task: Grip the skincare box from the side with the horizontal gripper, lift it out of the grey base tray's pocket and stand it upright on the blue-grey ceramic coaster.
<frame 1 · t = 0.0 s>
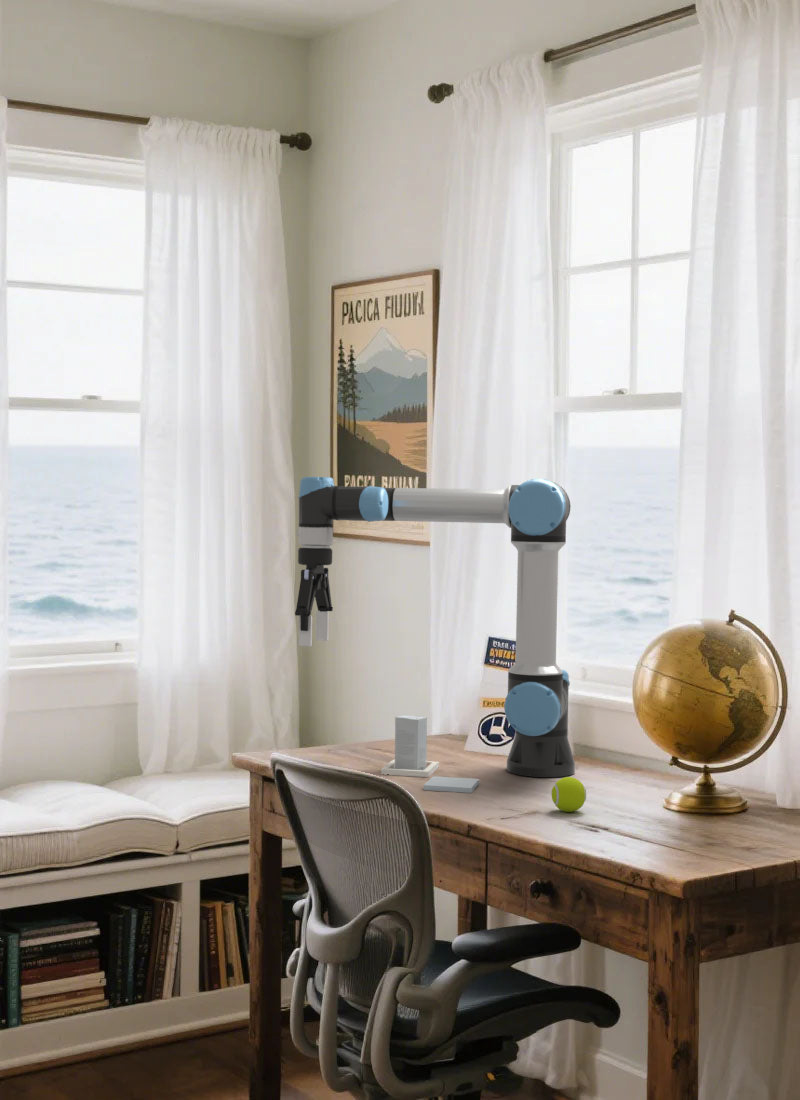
hand: (313, 643, 309), 28 cm above the table, tool pointing down, fingers open, 13 cm apart
skincare box: (410, 771, 310), resting in grey base tray
tennis ball: (568, 812, 271), on the table
coaster: (451, 786, 293), on the table
grey base tray: (410, 770, 310), on the table
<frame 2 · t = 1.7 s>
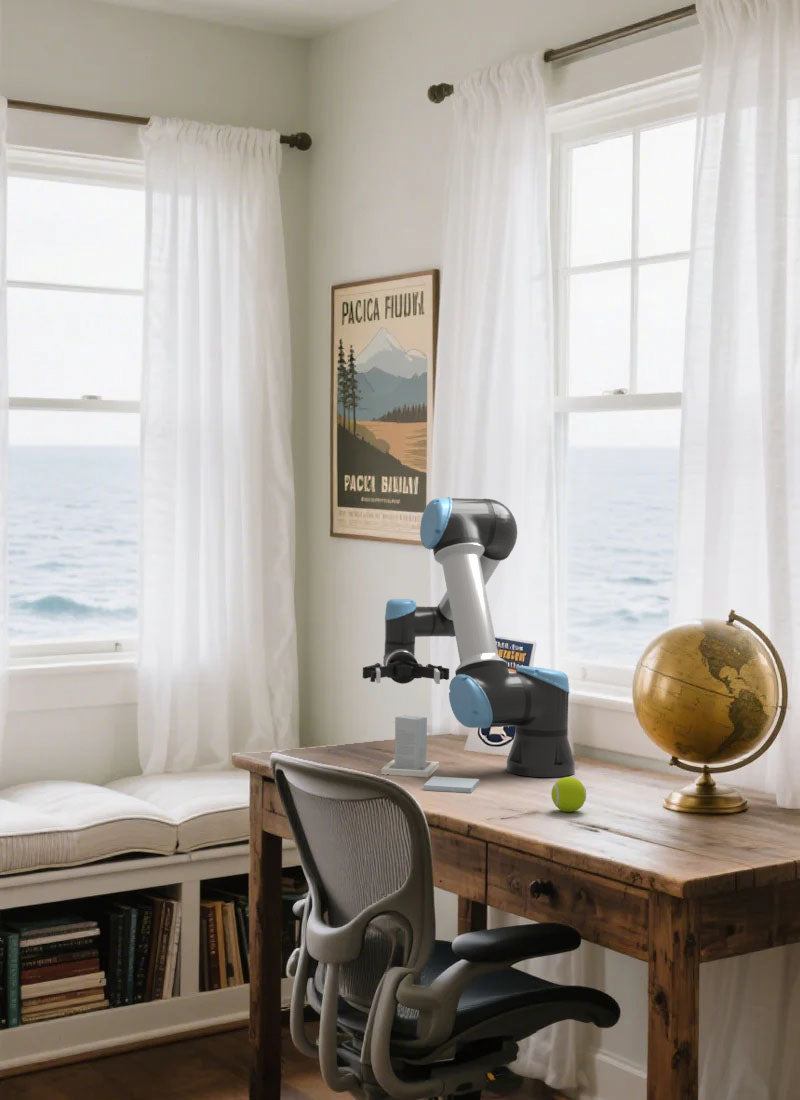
hand: (408, 677, 319), 20 cm above the table, tool horizontal, fingers open, 13 cm apart
nothing on the table moved.
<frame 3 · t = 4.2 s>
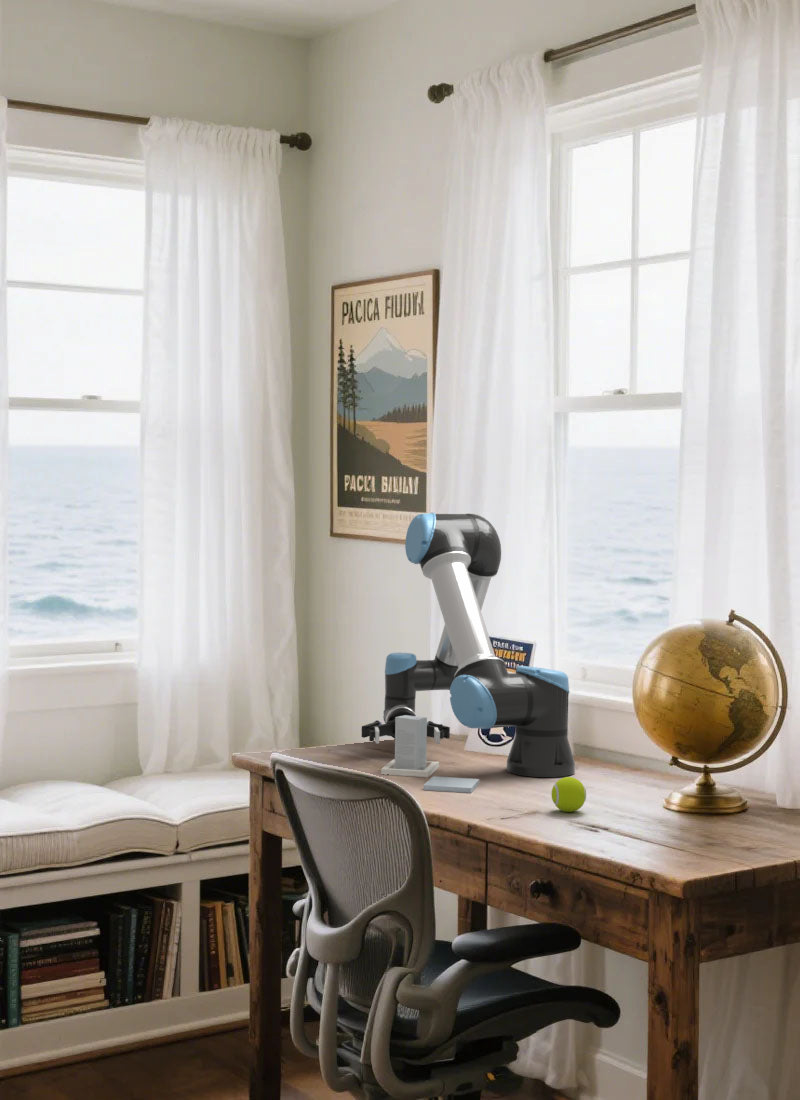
hand: (407, 737, 313), 7 cm above the table, tool horizontal, fingers open, 13 cm apart
nothing on the table moved.
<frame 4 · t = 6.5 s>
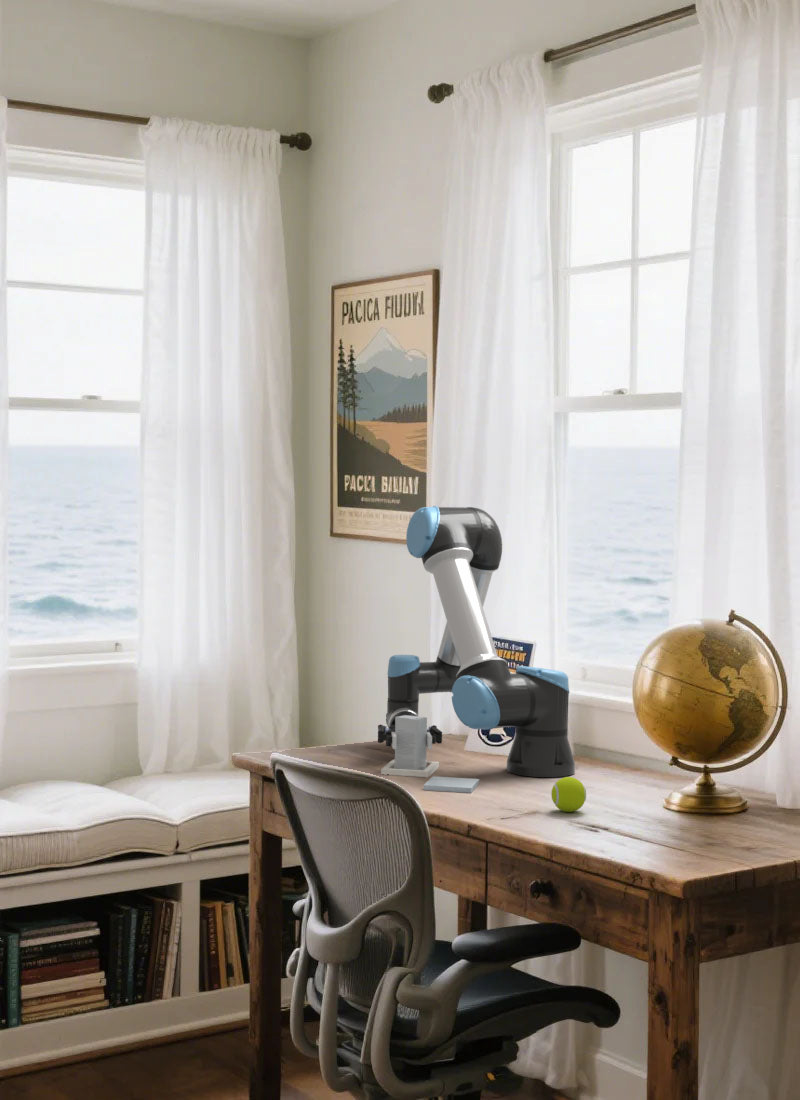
hand: (412, 742, 305), 7 cm above the table, tool horizontal, fingers closed on skincare box, 7 cm apart
skincare box: (410, 771, 310), resting in grey base tray, touching gripper
everything else where it was.
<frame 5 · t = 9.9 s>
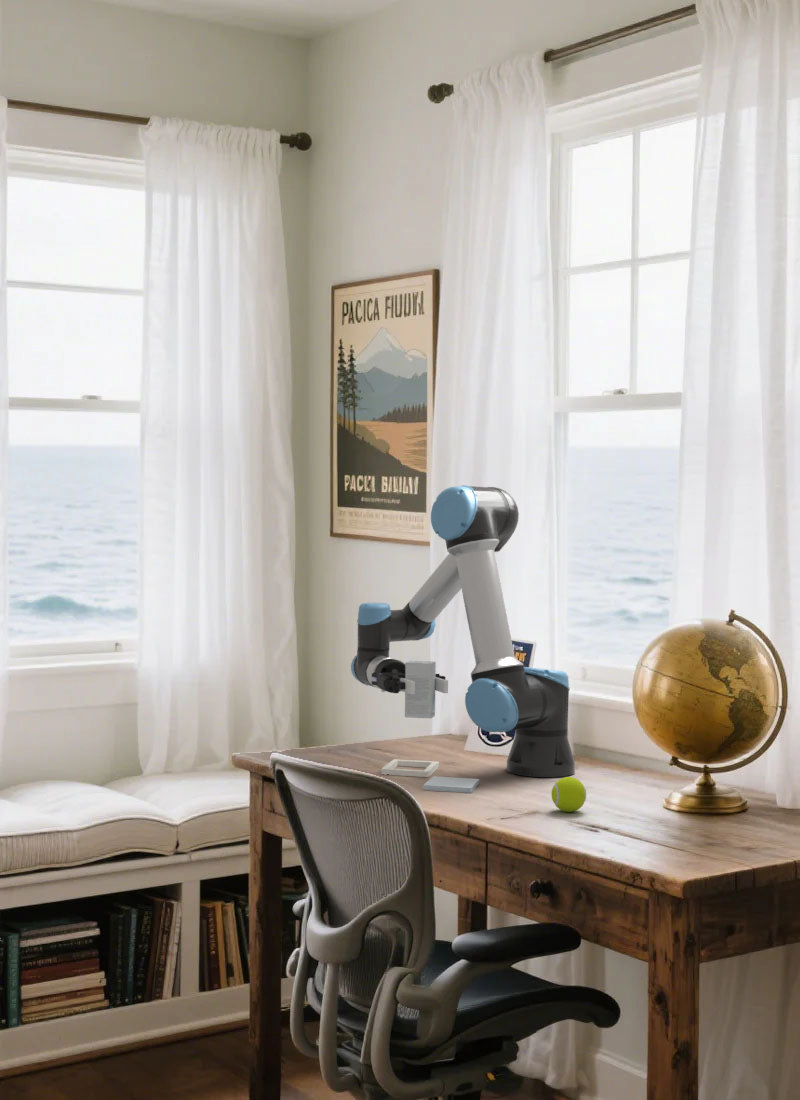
hand: (429, 687, 299), 20 cm above the table, tool horizontal, fingers closed on skincare box, 7 cm apart
skincare box: (419, 717, 303), point 13 cm above the table, touching gripper
everything else where it was.
when the fingers open (9 cm above the table, at t = 13.2 s): skincare box drops 1 cm, resting on coaster.
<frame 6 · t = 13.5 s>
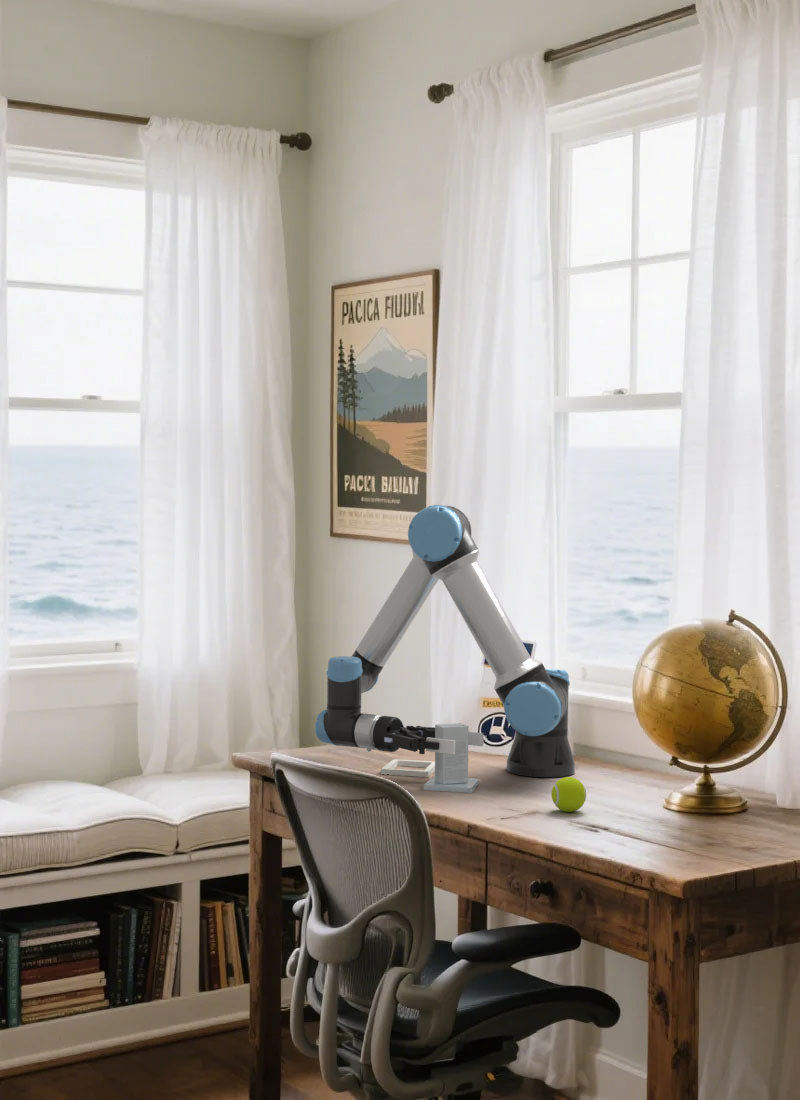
hand: (468, 743, 291), 10 cm above the table, tool horizontal, fingers open, 11 cm apart
skincare box: (450, 782, 293), point 1 cm above the table, touching coaster
everything else where it was.
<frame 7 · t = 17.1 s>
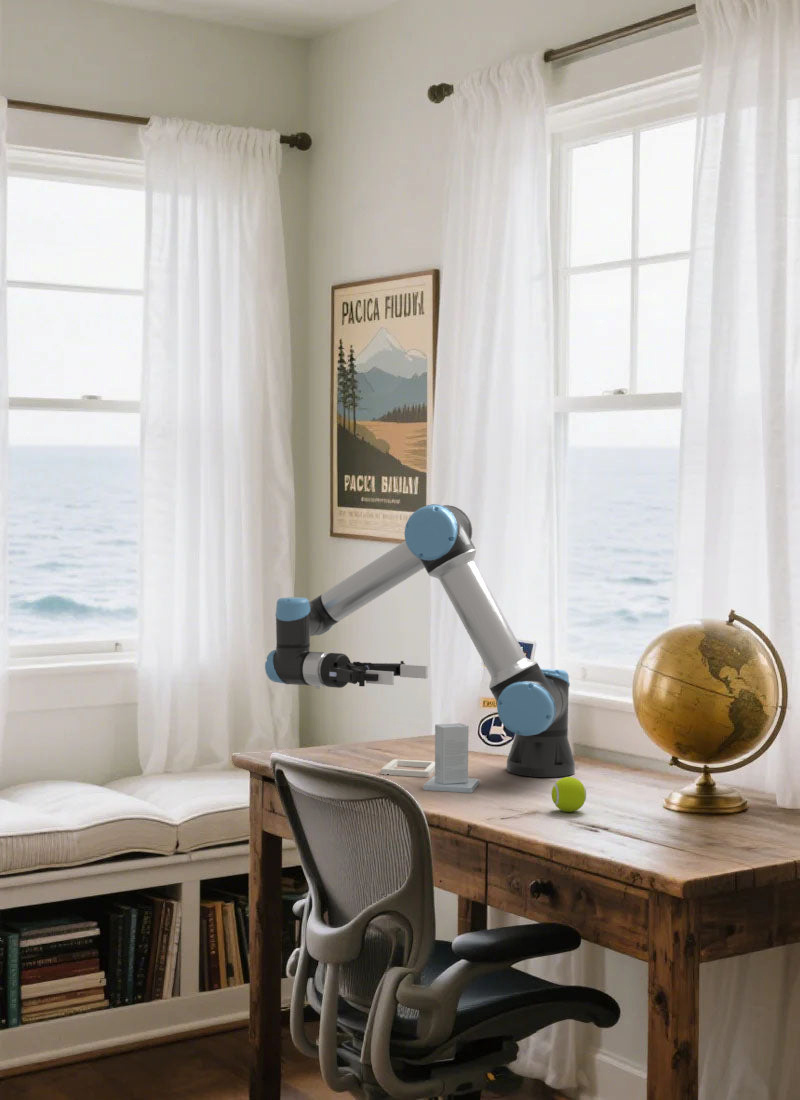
hand: (410, 675, 298), 23 cm above the table, tool horizontal, fingers open, 13 cm apart
nothing on the table moved.
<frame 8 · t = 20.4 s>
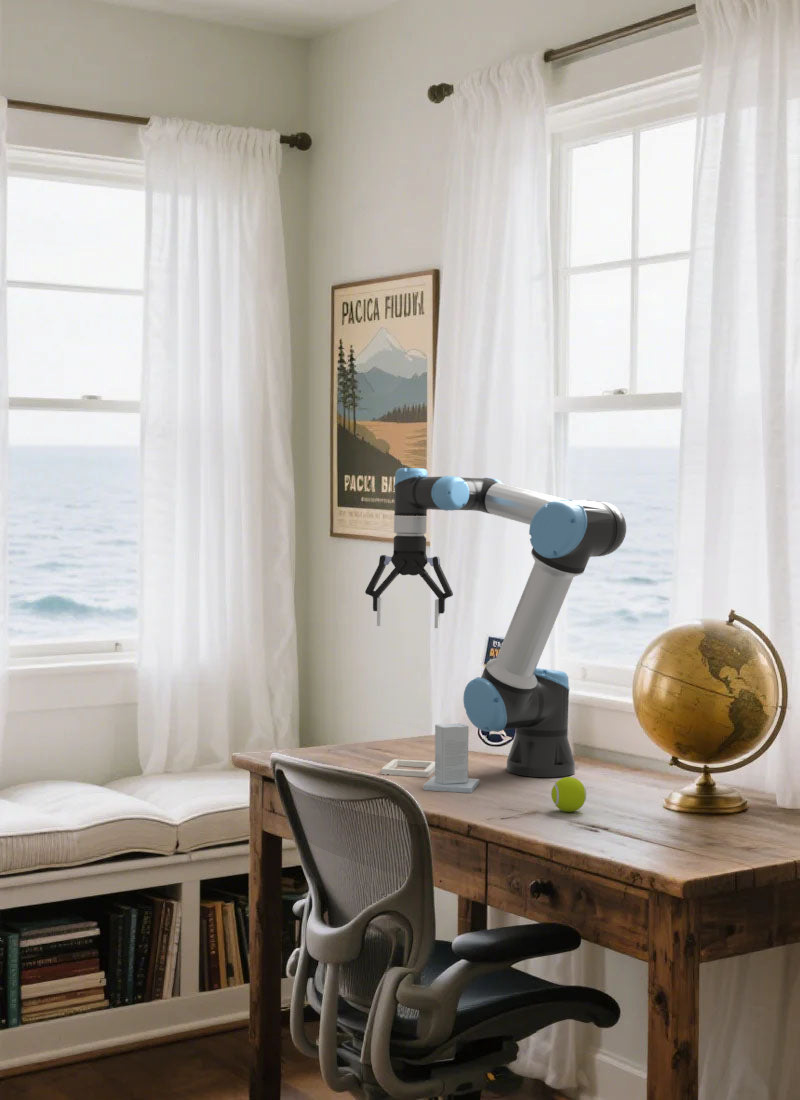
hand: (408, 626, 324), 31 cm above the table, tool pointing down, fingers open, 13 cm apart
nothing on the table moved.
at the end: skincare box inside the target area on the coaster (0.2 cm from its centre), point 0.8 cm above the coaster's base; skincare box tilted 0°; the gripper is holding nothing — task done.
